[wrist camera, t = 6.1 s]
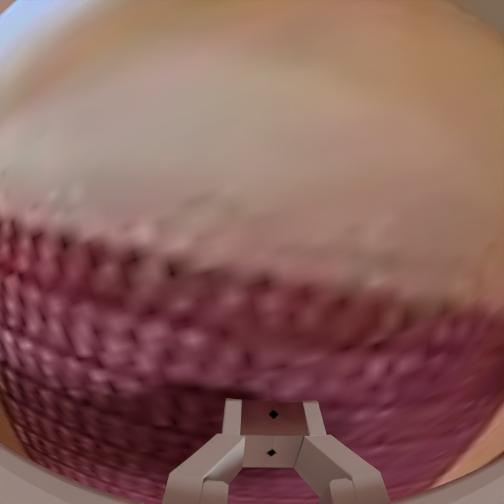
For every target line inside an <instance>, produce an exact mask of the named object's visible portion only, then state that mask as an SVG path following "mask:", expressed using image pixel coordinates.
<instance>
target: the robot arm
mask: <svg viewBox="0 0 504 504" xmlns="http://www.w3.org/2000/svg"><path fill="white" fill-rule="evenodd" d="M242 467H282V468H291V467H294V469H295V470H296V472H297V473H298V474H299V475H300V476H301V477H302V478H303V480H304V481H305V482H306V483H307V484H308V485H309V486H310V488H311V489H312V490H313V491H314V492H315V493H316V494H317V495H318V496H319V497H320V498H321V499H320V500H319V502H318V503H317V504H504V455H503V456H502V457H500V458H498V459H496V460H494V461H493V462H491V463H489V464H487V465H485V466H483V467H481V468H479V469H477V470H475V471H473V472H471V473H468V474H466V475H464V476H462V477H459V478H457V479H455V480H452V481H450V482H448V483H445V484H442V485H440V486H437V487H435V488H432V489H429V490H426V491H423V492H420V493H417V494H414V495H411V496H408V497H404V498H401V499H397V500H393V501H390V499H389V496H388V493H387V491H386V488H385V485H384V482H383V479H382V477H381V474H380V472H379V471H378V470H377V469H375V468H374V467H372V466H371V465H370V464H368V463H367V462H366V461H364V460H363V459H362V458H360V457H359V456H358V455H356V454H355V453H354V452H352V451H351V450H350V449H348V448H347V447H346V446H344V445H343V444H342V443H341V442H339V441H338V440H337V439H336V438H334V437H333V436H332V435H326V431H325V427H324V424H323V420H322V416H321V412H320V408H319V405H318V402H317V401H258V400H244V399H242V400H240V399H230V398H226V401H225V409H224V418H223V426H222V434H216V435H215V436H214V437H213V438H211V439H210V440H209V441H208V442H207V443H206V444H205V445H203V446H202V447H201V448H200V449H199V450H198V451H196V452H195V453H194V454H193V455H192V456H190V457H189V458H188V459H187V460H186V461H184V462H183V463H182V464H181V465H179V466H178V467H177V468H176V469H174V470H173V471H172V472H171V473H170V474H169V478H168V482H167V486H166V490H165V494H164V498H163V502H162V504H228V485H229V484H230V483H231V481H232V480H233V479H234V478H235V477H236V475H237V474H238V473H239V472H240V471H241V469H242ZM0 504H146V503H142V502H138V501H134V500H131V499H127V498H124V497H120V496H117V495H114V494H110V493H107V492H104V491H101V490H98V489H96V488H93V487H90V486H87V485H85V484H82V483H80V482H77V481H75V480H72V479H70V478H67V477H65V476H63V475H60V474H58V473H56V472H54V471H52V470H50V469H48V468H45V467H43V466H41V465H39V464H37V463H36V462H34V461H32V460H30V459H28V458H26V457H24V456H23V455H21V454H19V453H17V452H16V451H14V450H12V449H10V448H9V447H7V446H6V445H4V444H2V443H1V442H0Z"/></svg>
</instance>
